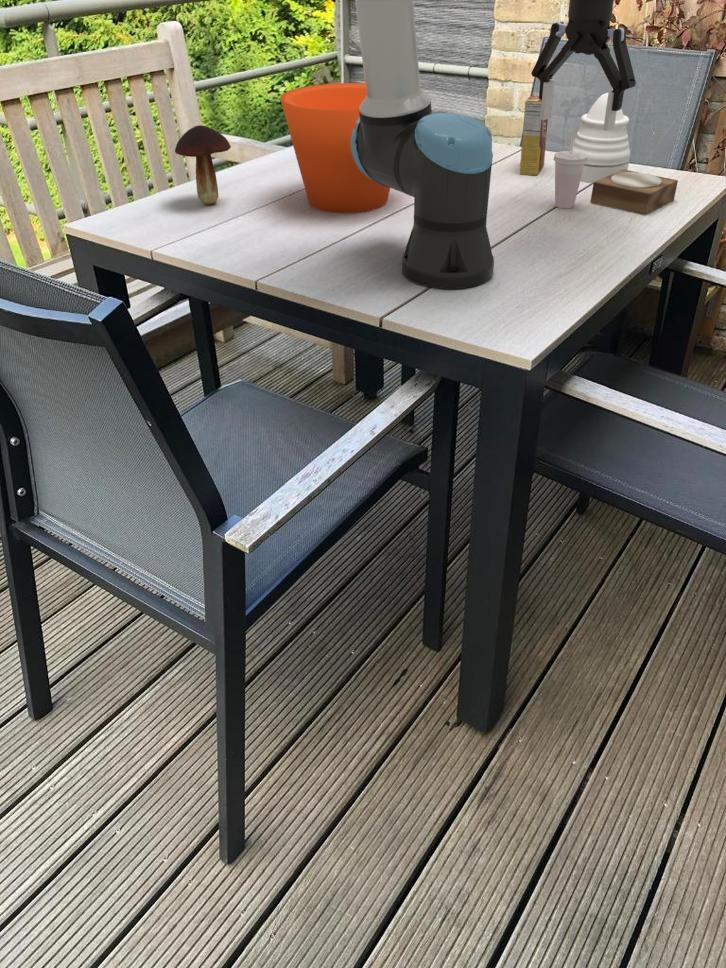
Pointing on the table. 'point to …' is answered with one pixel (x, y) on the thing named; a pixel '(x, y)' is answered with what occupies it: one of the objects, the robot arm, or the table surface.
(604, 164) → the honey pot
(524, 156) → the candy box
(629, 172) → the pedestal
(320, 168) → the flowerpot
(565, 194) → the smoothie
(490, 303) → the table surface
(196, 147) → the decorative mushroom
